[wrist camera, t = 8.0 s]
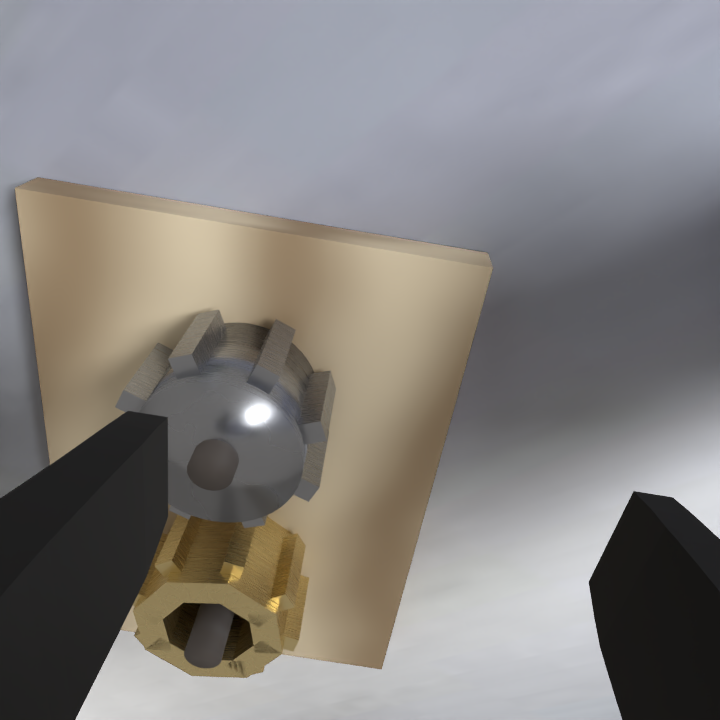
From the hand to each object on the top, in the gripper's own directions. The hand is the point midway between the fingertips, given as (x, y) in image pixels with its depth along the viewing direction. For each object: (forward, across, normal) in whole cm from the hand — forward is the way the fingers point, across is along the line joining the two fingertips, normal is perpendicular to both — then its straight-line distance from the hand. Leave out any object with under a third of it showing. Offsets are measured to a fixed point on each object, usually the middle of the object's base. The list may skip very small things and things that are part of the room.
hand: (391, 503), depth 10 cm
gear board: (+10, +4, +8) cm, 13 cm away
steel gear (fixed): (+9, +4, +4) cm, 10 cm away
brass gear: (+9, +4, +11) cm, 15 cm away
